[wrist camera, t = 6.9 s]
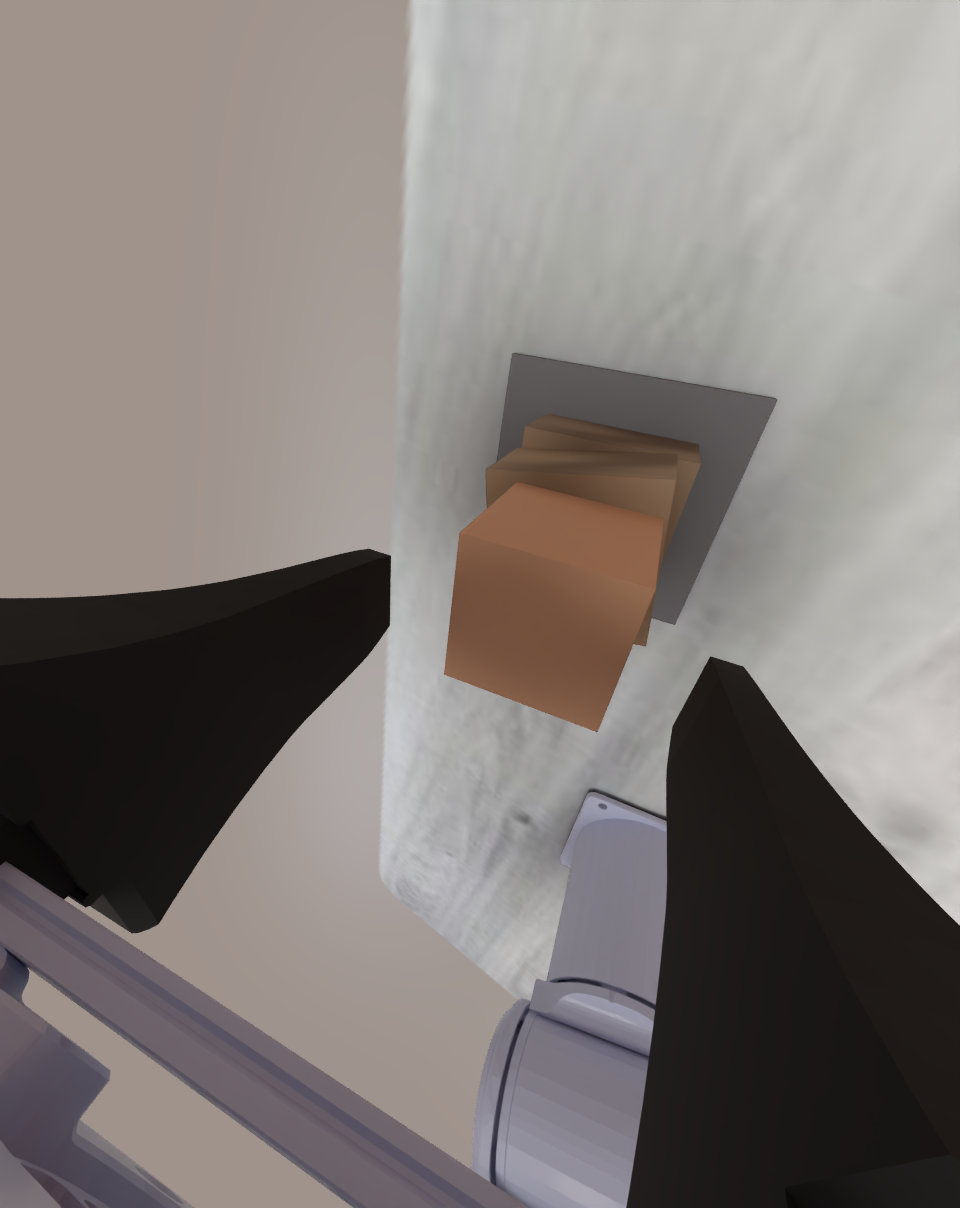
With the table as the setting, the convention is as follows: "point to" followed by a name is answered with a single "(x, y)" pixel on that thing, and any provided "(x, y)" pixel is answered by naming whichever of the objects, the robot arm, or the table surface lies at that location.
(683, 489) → the slab bottom
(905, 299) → the table surface
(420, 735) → the table surface
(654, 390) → the mat
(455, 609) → the cube
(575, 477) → the slab top
